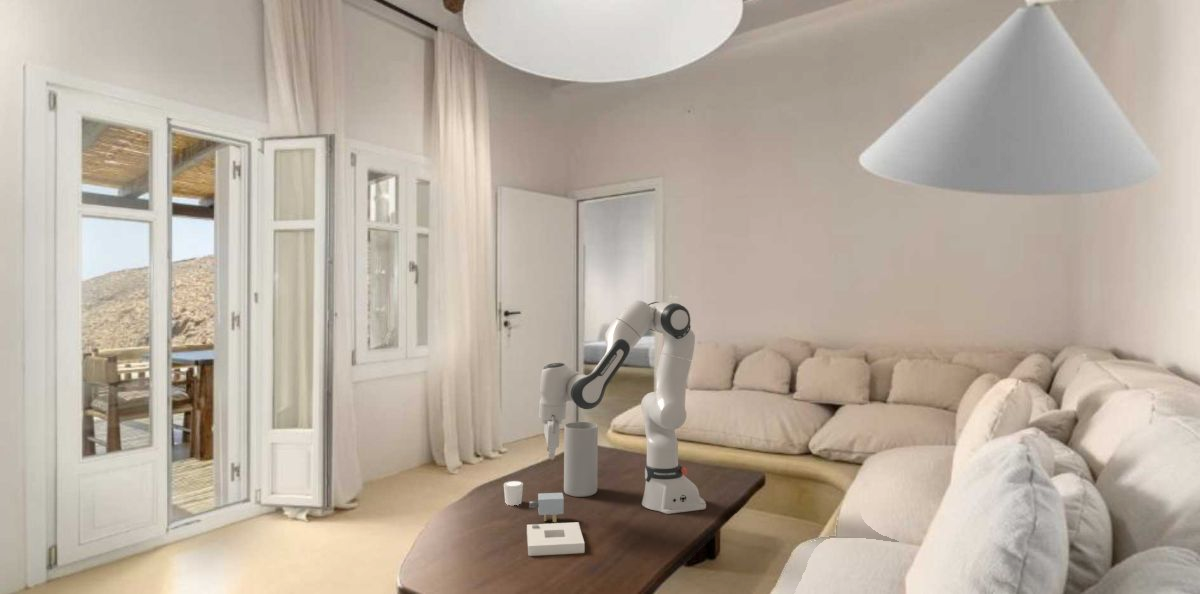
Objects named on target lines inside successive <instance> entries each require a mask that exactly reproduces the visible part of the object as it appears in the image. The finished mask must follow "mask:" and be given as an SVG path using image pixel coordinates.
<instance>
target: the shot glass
mask: <svg viewBox="0 0 1200 594" xmlns="http://www.w3.org/2000/svg"><path fill="white" fill-rule="evenodd" d="M523 489H524V482H522V481H520V480H508V481H506V482H504V483H503V493H504V503H506V504H507V505H506V504H505V505H506V506H508V505H510V507H515V506H514V505H517V506H520V505H521V504H522V499H523ZM519 504H520V505H519Z"/></svg>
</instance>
